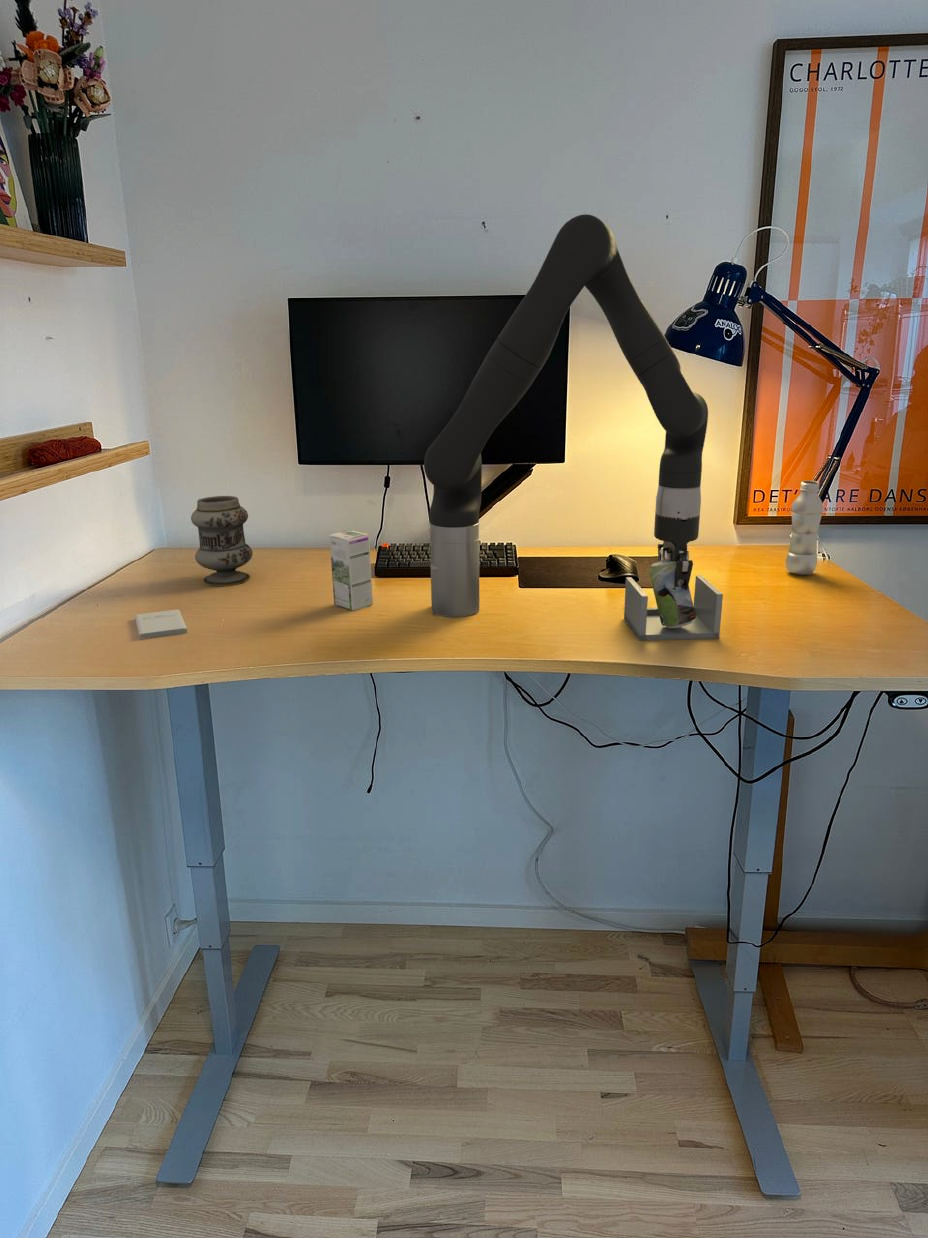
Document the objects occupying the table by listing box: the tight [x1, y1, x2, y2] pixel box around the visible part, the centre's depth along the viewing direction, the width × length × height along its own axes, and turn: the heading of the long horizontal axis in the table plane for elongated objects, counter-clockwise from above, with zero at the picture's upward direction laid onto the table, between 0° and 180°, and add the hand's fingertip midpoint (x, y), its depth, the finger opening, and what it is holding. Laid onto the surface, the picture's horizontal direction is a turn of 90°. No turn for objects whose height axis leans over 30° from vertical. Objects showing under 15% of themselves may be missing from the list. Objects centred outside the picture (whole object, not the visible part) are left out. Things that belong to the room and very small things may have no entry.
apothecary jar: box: [190, 495, 253, 587], centre depth 188 cm, size 12×12×18 cm
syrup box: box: [328, 529, 374, 611], centre depth 170 cm, size 6×6×14 cm
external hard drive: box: [134, 609, 188, 639], centre depth 162 cm, size 2×8×12 cm
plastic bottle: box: [785, 480, 824, 576], centre depth 187 cm, size 6×7×20 cm
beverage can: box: [649, 560, 696, 628], centre depth 153 cm, size 6×7×12 cm
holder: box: [623, 574, 724, 641], centre depth 156 cm, size 14×12×8 cm
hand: (671, 606), depth 156 cm, fingers open, 3 cm apart
